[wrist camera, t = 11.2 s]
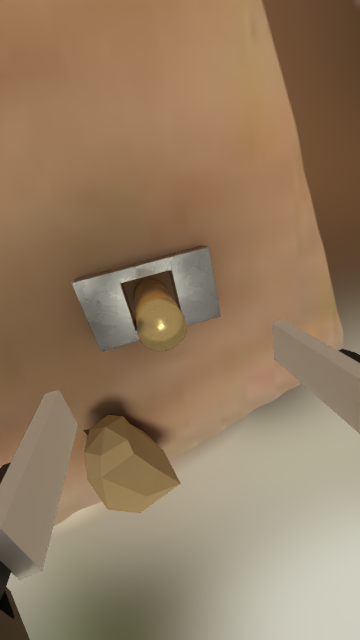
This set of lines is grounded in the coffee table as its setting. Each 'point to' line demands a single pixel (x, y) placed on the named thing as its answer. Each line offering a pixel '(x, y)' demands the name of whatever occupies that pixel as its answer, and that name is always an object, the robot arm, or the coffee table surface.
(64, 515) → the coffee table surface
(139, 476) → the faceted tan rock
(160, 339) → the gold peg
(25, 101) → the coffee table surface
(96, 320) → the metal plate with hole
